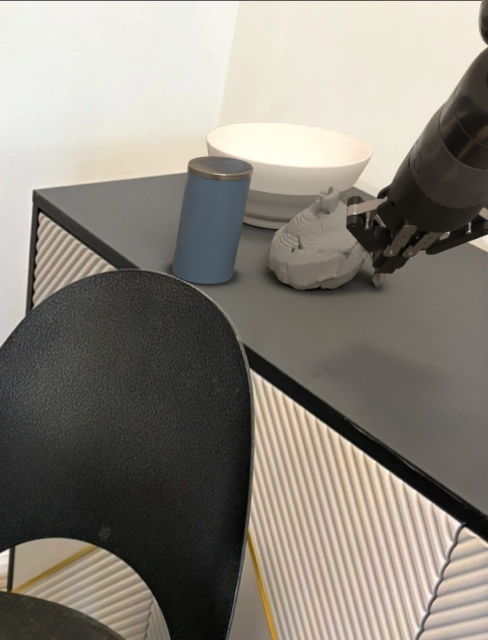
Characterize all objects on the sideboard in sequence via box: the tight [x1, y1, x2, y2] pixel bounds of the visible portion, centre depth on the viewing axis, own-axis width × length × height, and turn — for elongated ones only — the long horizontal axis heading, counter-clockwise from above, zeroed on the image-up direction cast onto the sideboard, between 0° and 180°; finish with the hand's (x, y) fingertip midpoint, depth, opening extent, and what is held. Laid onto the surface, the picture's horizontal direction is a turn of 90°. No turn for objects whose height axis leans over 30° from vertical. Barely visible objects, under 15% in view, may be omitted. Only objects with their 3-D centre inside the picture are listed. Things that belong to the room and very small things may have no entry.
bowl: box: [205, 122, 374, 230], centre depth 135 cm, size 19×19×8 cm
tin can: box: [171, 155, 254, 285], centre depth 118 cm, size 7×7×11 cm
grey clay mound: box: [266, 186, 386, 291], centre depth 119 cm, size 12×12×11 cm
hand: (383, 263), depth 104 cm, fingers closed
